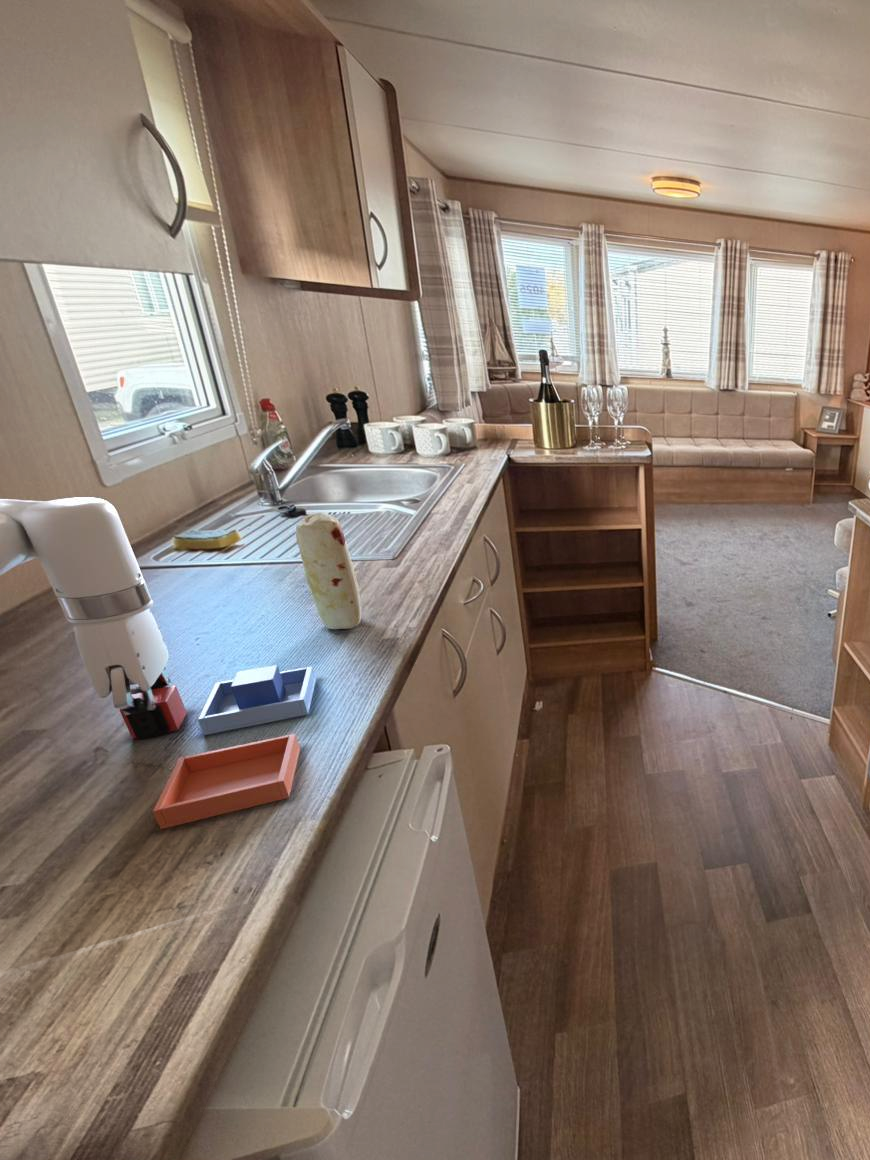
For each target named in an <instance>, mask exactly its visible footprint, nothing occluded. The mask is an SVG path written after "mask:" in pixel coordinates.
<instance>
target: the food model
mask: <svg viewBox="0 0 870 1160" xmlns="http://www.w3.org/2000/svg"><path fill="white" fill-rule="evenodd" d="M342 528H343V527H342V526H341V523H340V522H339V520H338V519H337V518H336V517H334V515H331V514H327V513H324V512H316V513H312V514H309V515H306V516H305V517H304V518H303V519H302V521H301V525H299V524H296V525H295V532H294V533H295V537H296V543H297V546H298V549H299V553H300V557H301V558H300V559H301V562H302V565H303V569H304V573H305V576H306V580H307V583H308V586H309V589H310V592H311V595H312V599H313V602H314V605H315V607H316V610H317V614H318V616H319V619H320V621H321V622H322V624H323V625H324V627H326V628H327V629H329V630H343V629H345V630H346V629H347V630H348V629H353V628H354V627H357V626H358V625H359V624H360V623H361V620H362V607H361V605H362V604H361V595H360V589H359V584H358V579H357V576H356V575H357V574H356V571H355V569H354V564H353V562H352V558H351V555H350V550H349V547H348V543H347V540H346V538H345V535H344V532H343V529H342Z"/></svg>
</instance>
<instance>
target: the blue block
mask: <svg viewBox="0 0 870 1160" xmlns="http://www.w3.org/2000/svg"><path fill="white" fill-rule="evenodd" d="M280 672H281V671H280V668H279V665H278V664H275V665H269V666H268V665H267V666H263V667H256V668H250V669H244V670H239V671H237V672H236V674H235V676H234V679H233V680H234V681H233V683H232V685H231V689H232V691H233V694H234V697H235V700H236V702H237V705H238V708H239V710H241V709H246V708H251V707H257V706H262V705H267V704H272V703H278V702H283V700H284V697H285V693H286V689H285V686H284V683H283V680H282V677H281V674H280Z"/></svg>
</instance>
